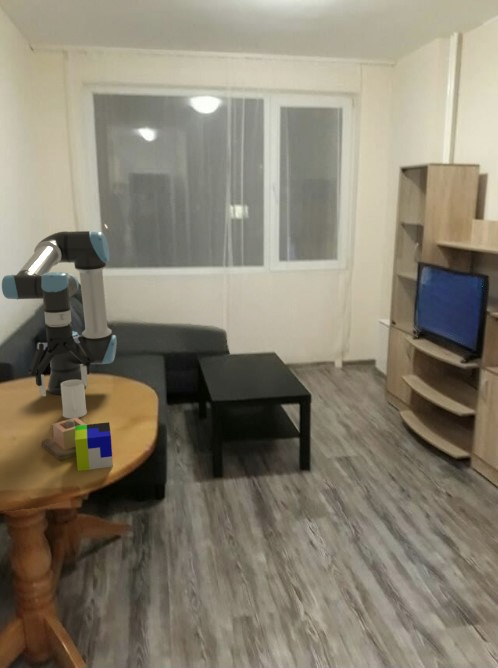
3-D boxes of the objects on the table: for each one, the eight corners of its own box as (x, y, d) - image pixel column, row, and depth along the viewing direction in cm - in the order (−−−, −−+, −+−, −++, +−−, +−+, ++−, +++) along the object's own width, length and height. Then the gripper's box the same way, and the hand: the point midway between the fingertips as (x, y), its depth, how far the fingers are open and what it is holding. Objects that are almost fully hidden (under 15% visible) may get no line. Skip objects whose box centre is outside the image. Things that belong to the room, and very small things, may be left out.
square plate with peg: (83, 432, 185) (81, 409, 183) (102, 446, 175) (100, 422, 173) (42, 445, 176) (39, 420, 174) (60, 460, 166) (57, 434, 164)
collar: (77, 434, 181) (76, 417, 179) (88, 442, 175) (87, 424, 173) (54, 441, 175) (52, 423, 174) (64, 449, 170) (62, 432, 168)
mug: (84, 421, 194) (82, 389, 191) (59, 423, 193) (56, 391, 190) (88, 408, 206) (85, 378, 203) (64, 410, 204) (61, 379, 201)
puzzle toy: (112, 466, 163) (110, 435, 160) (77, 471, 160) (75, 439, 158) (111, 451, 172) (109, 422, 170) (77, 455, 169) (75, 425, 167)
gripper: (21, 333, 155) (29, 403, 161) (102, 319, 171) (106, 383, 177) (12, 328, 161) (19, 396, 166) (91, 315, 177) (95, 377, 182)
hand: (64, 389), depth 172 cm, fingers open, 13 cm apart
